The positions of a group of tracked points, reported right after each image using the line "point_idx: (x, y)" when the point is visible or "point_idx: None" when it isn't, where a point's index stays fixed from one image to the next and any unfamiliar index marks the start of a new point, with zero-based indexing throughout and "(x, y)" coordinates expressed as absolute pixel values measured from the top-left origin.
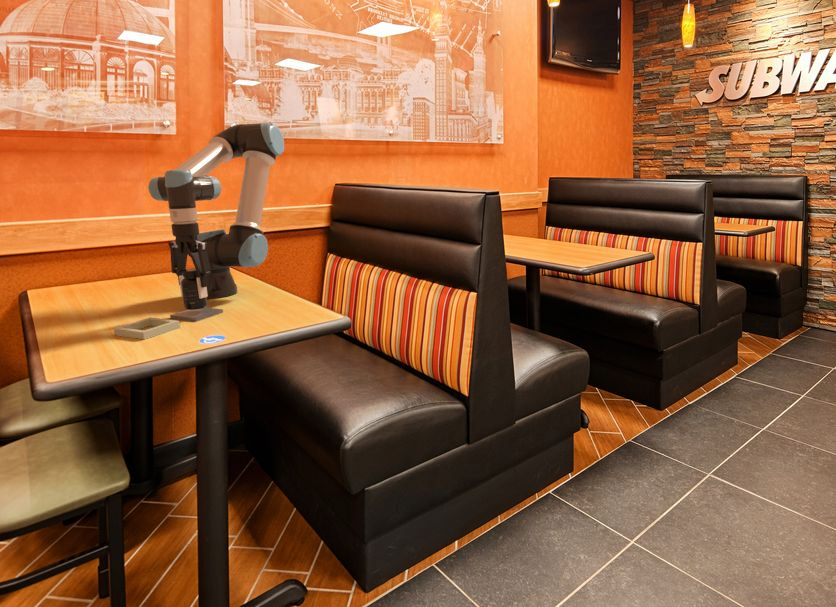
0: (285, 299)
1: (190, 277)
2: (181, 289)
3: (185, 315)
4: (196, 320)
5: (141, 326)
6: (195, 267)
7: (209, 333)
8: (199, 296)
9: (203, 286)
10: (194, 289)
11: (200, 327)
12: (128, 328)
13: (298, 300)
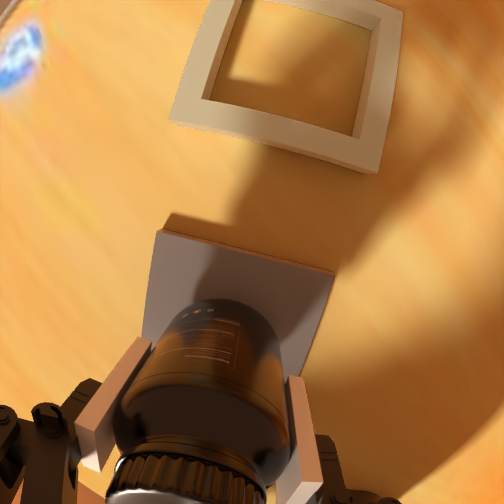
0: None
1: (151, 444)
2: (300, 405)
3: (246, 277)
4: (160, 230)
5: (361, 99)
6: (54, 501)
7: (37, 95)
8: (144, 345)
9: (86, 382)
10: (146, 363)
11: (94, 147)
12: (339, 1)
13: None
